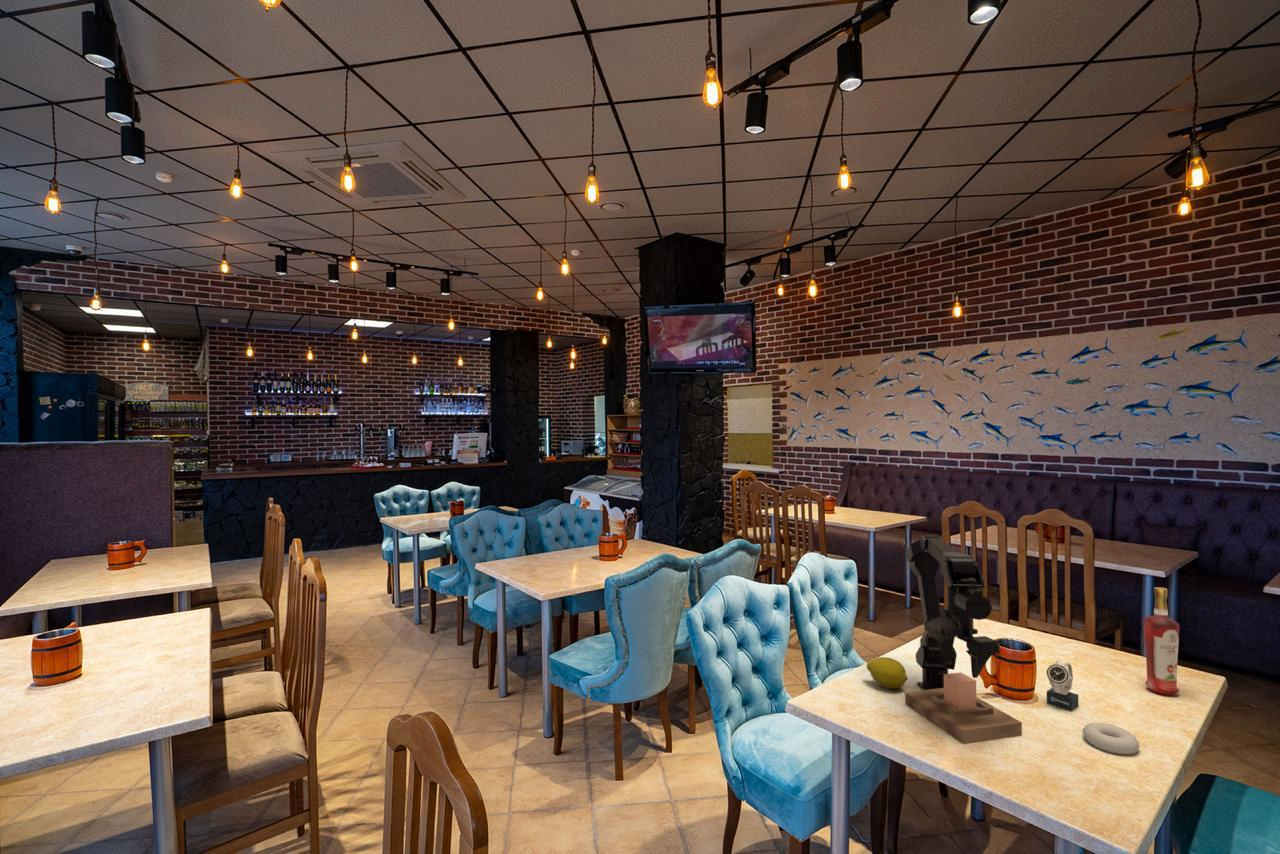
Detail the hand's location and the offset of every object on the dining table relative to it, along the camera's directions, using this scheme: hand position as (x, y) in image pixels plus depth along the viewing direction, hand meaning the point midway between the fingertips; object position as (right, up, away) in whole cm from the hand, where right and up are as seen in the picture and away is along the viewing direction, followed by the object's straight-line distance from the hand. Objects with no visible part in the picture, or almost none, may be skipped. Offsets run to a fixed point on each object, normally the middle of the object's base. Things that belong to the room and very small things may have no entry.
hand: (960, 670), depth 144 cm
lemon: (-11, -12, +18) cm, 24 cm away
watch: (+30, -12, +7) cm, 33 cm away
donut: (+27, -12, -12) cm, 32 cm away
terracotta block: (0, -9, 0) cm, 9 cm away
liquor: (+62, -12, +14) cm, 65 cm away
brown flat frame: (0, -12, 0) cm, 12 cm away
